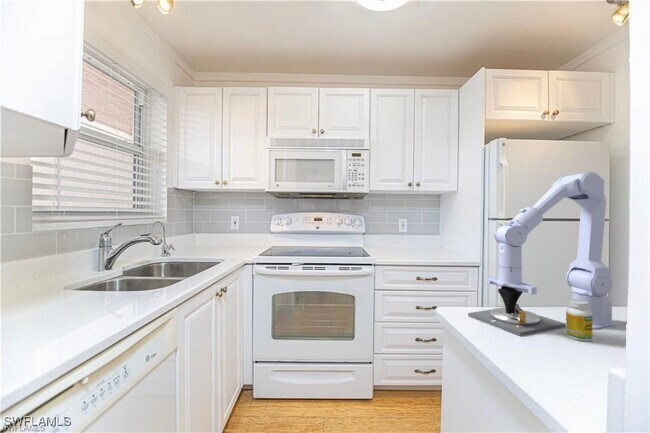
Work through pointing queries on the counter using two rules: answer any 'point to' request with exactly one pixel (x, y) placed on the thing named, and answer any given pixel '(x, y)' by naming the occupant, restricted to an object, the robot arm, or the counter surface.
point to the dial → (515, 316)
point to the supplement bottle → (579, 320)
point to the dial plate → (518, 329)
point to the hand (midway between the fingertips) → (510, 313)
